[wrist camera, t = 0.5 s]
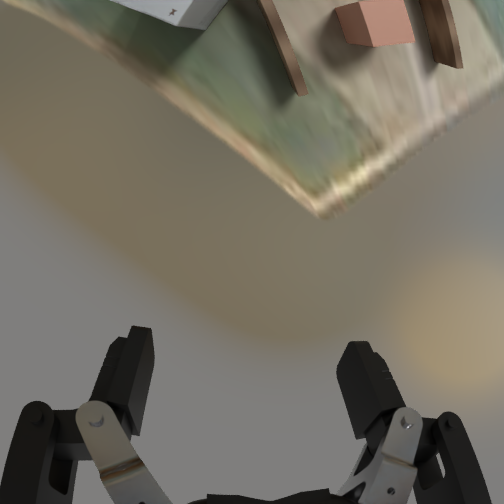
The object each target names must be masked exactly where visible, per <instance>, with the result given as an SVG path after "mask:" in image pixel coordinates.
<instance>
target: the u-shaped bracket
mask: <svg viewBox="0 0 504 504" xmlns="http://www.w3.org/2000/svg"><path fill="white" fill-rule="evenodd" d="M419 2H420V5H421V9H422V12H423V15H424V19H425V23H426V26H427V30H428V34H429V38H430V43H431V47H432V52H433V57H434V61H435V62H438V63H441V64H445V65H448V66H451V67H454V68H457V69H459V68H463V63H462V57H461V51H460V46H459V41H458V36H457V32H456V27H455V23H454V19H453V15H452V11H451V8H450V4H449V1H448V0H419ZM257 3H258V5H259V7H260V9H261V11H262V14H263V16H264V18H265V20H266V23H267V25H268V27H269V29H270V32H271V34H272V37H273V39H274V41H275V44H276V46H277V49H278V51H279V54H280V56H281V59H282V61H283V64H284V66H285V69H286V72H287V74H288V77H289V80H290V82H291V85H292V88H293V89H294V91H295V92H296V93H297V95H298V96H303V95H307V94H309V93H308V90H307V87H306V85H305V82H304V79H303V76H302V73H301V70H300V68H299V65H298V62H297V59H296V57H295V54H294V51H293V49H292V46H291V44H290V41H289V39H288V36H287V34H286V31H285V29H284V26H283V24H282V22H281V19H280V17H279V15H278V12H277V10H276V8H275V6H274V3H273V1H272V0H257Z"/></svg>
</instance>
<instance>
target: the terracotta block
mask: <svg viewBox="0 0 504 504" xmlns="http://www.w3.org/2000/svg"><path fill="white" fill-rule="evenodd" d="M335 11H336V13H337V16H338V19H339V22H340V24H341V27H342V30H343V33H344V36H345V39H346V42H347V43H350V44H357V45H364V46H370V47H377V46H384V45H393V44H402V43H413V42H415V38H414V34H413V31H412V27H411V23H410V20H409V17H408V13H407V10H406V7H405V4H404V1H403V0H371V1H361V2H356V3H352V4H348V5H344V6H341V7H337V8H335Z"/></svg>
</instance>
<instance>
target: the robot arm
mask: <svg viewBox="0 0 504 504" xmlns="http://www.w3.org/2000/svg"><path fill="white" fill-rule="evenodd" d="M154 356H155V355H154V346H153V338H152V330H151V328H146V327H139V326H132V327H131V329H130V332H129V335H128V337H127V338H124V337H118V338H117V339H116V340H115V341H114V342H113V343H112V344H111V345H110V347H109V349H108V352H107V354H106V358H105V359H104V362H103V366H102V367H101V370H100V373H99V375H98V378H97V381H96V384H95V386H94V389H93V392H92V395H91V397H90V399H89V401H88V402H86V403H84V404H82V405H81V406H80V407H79V408H78V409H74V410H52V409H51V408H50V407H49V405H47V404H46V403H44V402H41V401H33V402H30V403H28V404H27V405H26V406H25V407H24V408H23V410H22V412H21V415H20V417H19V420H18V423H17V426H16V429H15V432H14V436H13V438H12V442H11V445H10V449H9V452H8V456H7V460H6V464H5V467H4V472H3V476H2V480H1V485H0V504H72V499H73V491H74V484H75V478H76V471H77V465H78V460H93V461H94V463H95V465H96V467H97V469H98V471H99V473H100V478H101V481H102V483H103V485H104V486H105V488H106V490H107V492H108V494H109V495H110V497H111V499H112V500H113V502H114V504H173V503H172V502H171V501H170V500H169V498H168V497H167V496H166V494H165V493H164V492H163V490H162V489H161V488H160V486H159V485H158V483H157V482H156V480H155V479H154V478H153V476H152V475H151V473H150V472H149V470H148V469H147V467H146V466H145V464H144V463H143V461H142V460H141V459H140V458H139V456H138V454H137V453H136V451H135V450H134V448H133V446H132V445H131V443H130V440H131V435H137V436H140V430H141V425H142V420H143V415H144V410H145V405H146V400H147V395H148V390H149V386H150V382H151V377H152V373H153V368H154V359H155V357H154ZM336 374H337V379H338V383H339V385H340V389H341V392H342V395H343V398H344V401H345V404H346V408H347V411H348V414H349V418H350V421H351V424H352V428H353V431H354V434H355V438H356V439H362V438H366V441H367V443H366V444H365V445H364V447H363V449H362V452H361V454H360V456H359V458H358V460H357V462H356V464H355V466H354V468H353V471H352V472H351V474H350V476H349V478H348V480H347V481H346V482H345V483H344V485H343V486H342V487H341V488H340V490H339V491H338V493H337V494H336V495H334V494H330V492H329V488H327V489H321V490H314V491H306V492H300V493H297V494H294V495H291V496H288V497H284V498H281V499H278V500H274V501H265V500H260V499H254V498H249V497H244V496H240V495H215V494H207V499H201V500H197V501H193V502H190V503H188V504H407V501H408V498H409V496H410V493H411V490H412V487H413V489H414V493H415V497H416V501H417V504H492V503H491V500H490V496H489V493H488V490H487V486H486V483H485V480H484V478H483V474H482V471H481V469H480V466H479V463H478V460H477V458H476V455H475V452H474V450H473V447H472V445H471V442H470V440H469V438H468V435H467V433H466V430H465V428H464V426H463V423H462V421H461V419H460V418H459V417H458V416H457V415H456V414H454V413H452V412H444V413H442V414H441V415H440V416H439V417H438V418H437V419H433V418H423V417H421V416H420V414H419V413H418V412H417V411H416V410H414V409H412V408H409V407H406V405H405V403H404V401H403V398H402V396H401V394H400V392H399V390H398V387H397V385H396V383H395V381H394V380H393V377H392V375H391V372H389V368H388V367H387V364H386V362H385V360H384V359H383V358H382V357H381V356H380V355H379V354H378V353H377V352H375V353H374V352H373V350H372V348H371V346H370V344H369V342H367V341H351V342H349V343H348V345H347V347H346V349H345V351H344V353H343V355H342V357H341V359H340V361H339V364H338V365H337V371H336ZM438 453H440V456H441V459H442V462H443V465H444V469H445V477H444V478H443V476H442V473H441V469H440V466H439V464H438V460H437V457H436V455H437V454H438Z"/></svg>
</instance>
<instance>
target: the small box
mask: <svg viewBox="0 0 504 504" xmlns="http://www.w3.org/2000/svg"><path fill="white" fill-rule="evenodd" d="M110 1H113V2H116V3H118V4H121V5H124V6H126V7H128V8H131V9H134V10H136V11H139V12H142V13H145V14H148V15H151V16H153V17H155V18H158V19H160V20H163V21H165V22H167V23H170V24H172V25H174V26H179V27H187V28H195V29H200V30H206V29H207V27H208V26H209V25H210V23H211V22H212V21H213V19H214V18H215V17H216V15H217V14H218V13H219V11H220V10H221V9H222V8H223V6H224V5H225V4H226V3H227V2H228V0H110Z"/></svg>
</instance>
